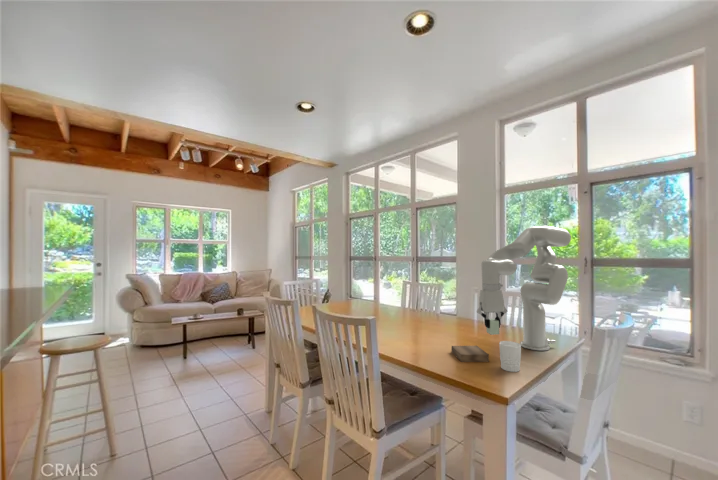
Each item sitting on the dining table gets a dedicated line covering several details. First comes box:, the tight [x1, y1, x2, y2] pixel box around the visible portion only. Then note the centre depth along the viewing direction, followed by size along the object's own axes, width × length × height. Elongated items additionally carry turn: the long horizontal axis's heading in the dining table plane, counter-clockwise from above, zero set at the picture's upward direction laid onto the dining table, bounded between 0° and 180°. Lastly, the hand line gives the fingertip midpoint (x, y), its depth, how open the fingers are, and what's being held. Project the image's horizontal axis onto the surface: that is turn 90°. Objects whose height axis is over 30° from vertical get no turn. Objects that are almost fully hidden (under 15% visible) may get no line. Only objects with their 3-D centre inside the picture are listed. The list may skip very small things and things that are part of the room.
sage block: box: [485, 318, 500, 335], centre depth 139 cm, size 4×4×6 cm
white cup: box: [498, 340, 522, 373], centre depth 122 cm, size 8×8×10 cm
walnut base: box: [451, 345, 490, 363], centre depth 136 cm, size 12×12×3 cm
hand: (492, 326), depth 139 cm, fingers closed on sage block, 4 cm apart
